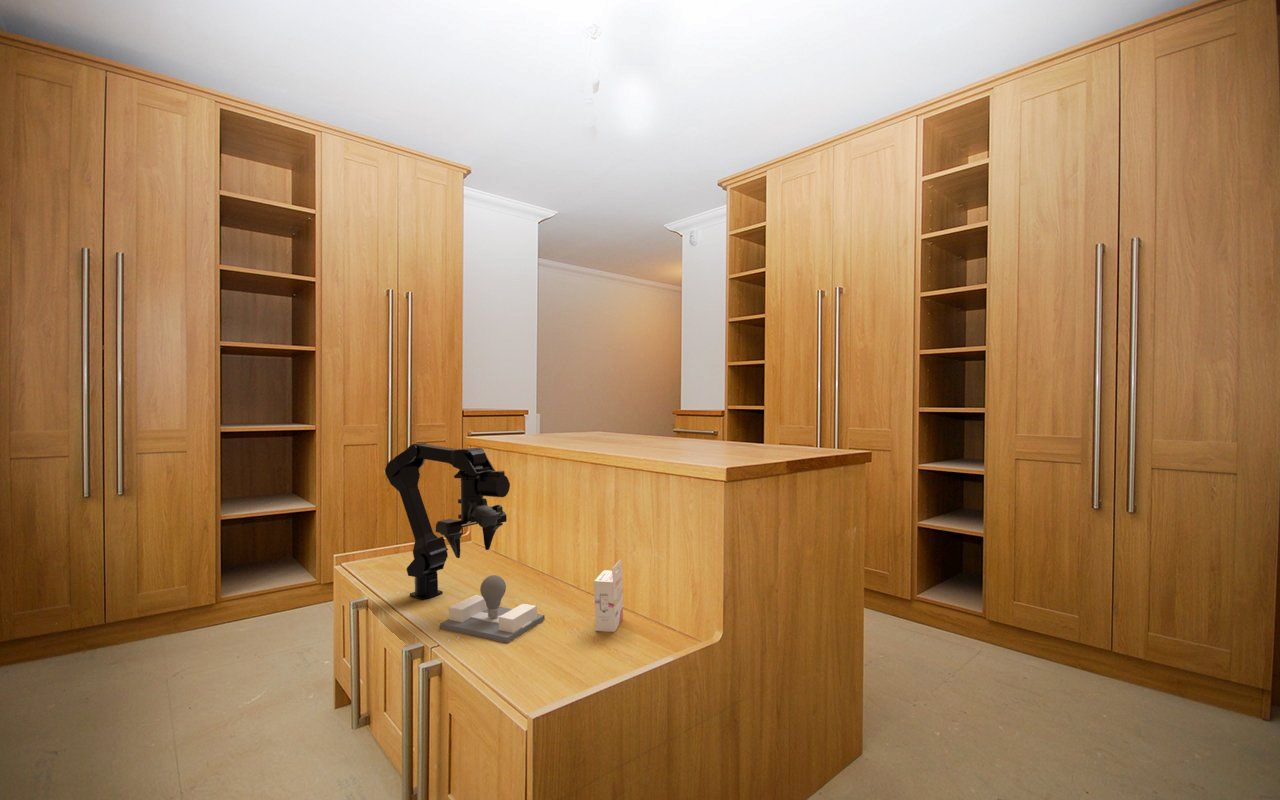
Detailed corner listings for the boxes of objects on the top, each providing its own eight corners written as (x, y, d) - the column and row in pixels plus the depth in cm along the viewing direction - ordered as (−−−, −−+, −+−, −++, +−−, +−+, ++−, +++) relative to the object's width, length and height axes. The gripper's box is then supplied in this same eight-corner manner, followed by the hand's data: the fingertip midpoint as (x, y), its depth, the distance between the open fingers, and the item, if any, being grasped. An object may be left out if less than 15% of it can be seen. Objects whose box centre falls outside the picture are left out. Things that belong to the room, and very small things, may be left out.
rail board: (440, 628, 130) (439, 610, 130) (480, 607, 143) (480, 591, 143) (507, 643, 122) (507, 624, 122) (544, 619, 135) (544, 602, 135)
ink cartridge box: (603, 617, 136) (603, 557, 136) (623, 618, 135) (622, 558, 135) (594, 631, 128) (593, 567, 128) (614, 632, 127) (614, 568, 127)
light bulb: (483, 612, 136) (483, 572, 136) (508, 612, 136) (507, 571, 136) (477, 622, 130) (477, 580, 130) (503, 621, 130) (503, 579, 130)
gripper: (459, 503, 135) (460, 567, 135) (519, 493, 150) (520, 550, 150) (433, 499, 141) (434, 560, 141) (493, 489, 156) (494, 544, 156)
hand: (473, 553), depth 147 cm, fingers open, 9 cm apart
